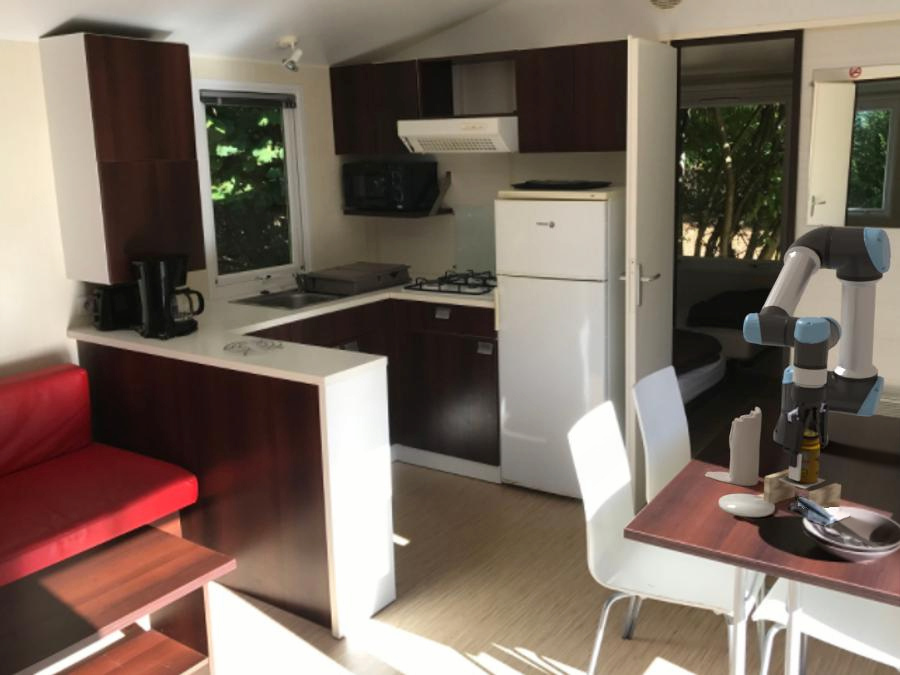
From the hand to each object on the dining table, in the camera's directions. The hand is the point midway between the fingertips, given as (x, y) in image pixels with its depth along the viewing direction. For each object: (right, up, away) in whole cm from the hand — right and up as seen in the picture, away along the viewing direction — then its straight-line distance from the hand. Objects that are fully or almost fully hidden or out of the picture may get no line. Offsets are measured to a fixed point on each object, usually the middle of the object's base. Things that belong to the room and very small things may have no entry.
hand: (803, 475), depth 220 cm
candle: (-11, -4, +21) cm, 24 cm away
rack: (0, -8, +1) cm, 8 cm away
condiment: (-1, -1, 0) cm, 2 cm away
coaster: (-13, -8, +3) cm, 15 cm away
